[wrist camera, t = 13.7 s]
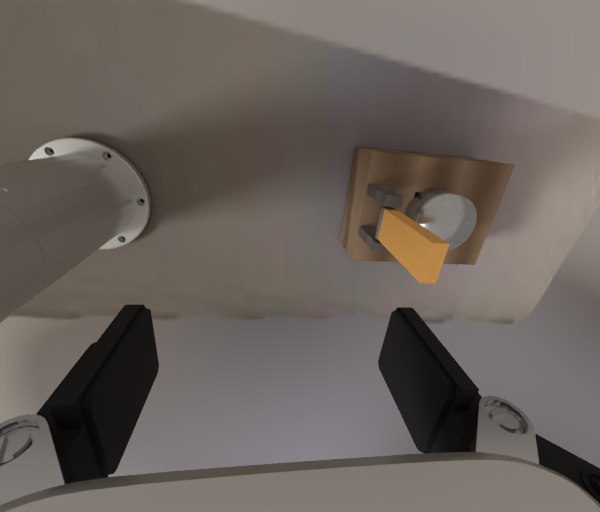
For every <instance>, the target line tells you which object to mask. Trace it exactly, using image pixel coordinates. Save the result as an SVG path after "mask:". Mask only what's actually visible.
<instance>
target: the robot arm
mask: <svg viewBox="0 0 600 512" xmlns="http://www.w3.org/2000/svg"><path fill="white" fill-rule="evenodd" d="M53 151H54V152H53ZM109 154H110V155H111V157H109ZM142 199H143V200H144V201H145V202H143V201H142ZM150 213H151V198H150V194H149V191H148V187H147V185H146V183H145V181H144V179H143V177H142V176H141V174H140V173H139V172H138V170H137V169H136V167H135V166H134V165H133V164H132V163H131V162H130V161H129V160H128V159H127V158H126V157H124V156H123V155H122V154H120V153H119V152H118V151H116V150H114V149H113V148H111V147H109V146H107V145H105V144H102V143H100V142H97V141H94V140H90V139H84V138H62V139H56V140H53V141H50V142H47V143H45V144H43V145H42V146H40V147H38V148H37V149H36V150H35V151H34V152H33V153H32V154H31V156H30V157H29V159H28V160H27V161H21V162H14V163H8V164H1V165H0V323H1V322H2V321H3V320H5V319H6V318H7V317H8V316H10V315H11V314H12V313H14V312H15V311H16V310H18V309H19V308H20V307H22V306H23V305H24V304H26V303H27V302H28V301H30V300H31V299H33V298H34V297H35V296H37V295H38V294H39V293H41V292H42V291H43V290H45V289H46V288H47V287H49V286H50V285H51V284H53V283H54V282H55V281H57V280H58V279H59V278H61V277H62V276H63V275H65V274H66V273H67V272H69V271H70V270H71V269H73V268H74V267H75V266H77V265H78V264H79V263H81V262H82V261H83V260H85V259H86V258H87V257H89V256H90V255H91V254H93V253H94V252H95V251H97V250H98V249H99V250H103V249H114V248H118V247H121V246H124V245H126V244H128V243H130V242H131V241H133V240H134V239H135V238H137V237H138V236H139V235H140V234H141V233H142V232H143V230H144V229H145V227H146V226H147V224H148V221H149V218H150ZM123 236H124V237H125V238H124V237H123ZM378 364H379V369H380V371H381V373H382V375H383V377H384V380H385V381H386V384H387V386H388V388H389V390H390V392H391V394H392V396H393V398H394V401H395V403H396V405H397V407H398V409H399V411H400V413H401V415H402V418H403V420H404V422H405V424H406V426H407V428H408V430H409V432H410V434H411V437H412V439H413V441H414V443H415V445H416V447H417V449H418V450H419V451H420V452H423V454H407V455H392V456H377V457H361V458H346V459H333V460H318V461H304V462H290V463H276V464H263V465H249V466H235V467H223V468H209V469H197V470H184V471H171V472H159V473H149V474H139V475H128V476H118V477H108V475H109V474H113V473H114V472H115V471H116V469H117V467H118V465H119V463H120V460H121V458H122V456H123V453H124V451H125V449H126V446H127V444H128V441H129V439H130V437H131V435H132V432H133V430H134V427H135V425H136V423H137V420H138V418H139V416H140V413H141V411H142V408H143V406H144V404H145V401H146V399H147V397H148V394H149V392H150V390H151V387H152V385H153V382H154V380H155V378H156V376H157V373H158V367H159V363H158V356H157V350H156V343H155V337H154V330H153V323H152V317H151V311H150V309H146V308H145V306H144V305H125V306H124V307H123V308H122V309H121V311H120V312H119V313H118V315H117V316H116V317H115V319H114V320H113V321H112V323H111V324H110V325H109V327H108V328H107V329H106V330H105V332H104V333H103V334H102V336H101V337H100V338H99V340H98V341H97V342H95V343H93V344H91V345H90V346H89V348H88V349H87V350H86V351H85V353H84V354H83V355H82V356H81V358H80V359H79V360H78V362H77V363H76V364H75V365H74V367H73V368H72V369H71V370H70V372H69V373H68V374H67V376H66V377H65V378H64V379H63V381H62V382H61V383H60V384H59V386H58V387H57V388H56V390H55V391H54V392H53V394H52V395H51V396H50V397H49V399H48V400H47V401H46V402H45V404H44V405H43V406H42V408H41V409H40V410H39V411H38V413H37V414H36V415H29V414H28V415H23V416H18V417H15V418H12V419H9V420H7V421H4V422H2V423H1V424H0V512H600V468H598V467H596V466H594V465H592V464H590V463H588V462H587V461H585V460H583V459H581V458H579V457H577V456H576V455H574V454H572V453H570V452H568V451H566V450H565V449H562V448H561V447H559V446H557V445H555V444H553V443H551V442H550V441H548V440H546V439H544V438H542V437H540V436H539V435H537V434H535V430H534V427H533V424H532V422H531V421H530V420H529V418H528V416H527V415H525V413H523V411H521V410H520V409H519V408H518V407H516V406H515V405H514V404H512V403H510V402H508V401H507V400H505V399H502V398H499V397H496V396H485V397H483V398H482V397H481V396H480V395H479V393H478V391H479V389H478V388H477V387H476V385H475V384H474V383H473V382H472V380H471V379H470V378H469V377H468V376H467V374H466V373H465V372H464V371H463V369H462V368H461V367H460V366H459V364H458V363H457V362H456V361H455V359H454V358H453V357H452V356H451V355H450V353H449V352H448V351H447V350H446V348H445V347H444V346H443V345H442V343H441V342H440V341H439V340H438V339H437V337H436V336H435V335H434V334H433V333H432V331H431V330H430V329H429V327H428V326H427V325H426V324H425V322H424V321H423V320H422V319H421V318H420V316H419V315H418V314H417V313H416V311H415V310H414V309H413V308H397V309H396V310H395V311H393V312H392V314H391V317H390V321H389V324H388V328H387V332H386V335H385V339H384V342H383V346H382V349H381V353H380V357H379V361H378Z"/></svg>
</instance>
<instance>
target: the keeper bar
mask: <svg viewBox="0 0 600 512" xmlns="http://www.w3.org/2000/svg"><path fill="white" fill-rule="evenodd" d="M375 238H376V239H378V240H379V241H380V242H381V243H382V244H383V245H384V246H385V247H386V248H387V250H388V251H389V252H390V253H391V254H392V255H393V256H394V257H395V258H396V259H397V260H398V261H399V262H400V263H401V264H402V265H403V266H404V267H405V268H406V269H407V270H408V271H409V272H410V273H411V274H412V275H413V276H414V277H415V278H416V279H417V280H418V281H419V282H420V283H436V282H437V279H438V276H439V273H440V270H441V267H442V264H443V262H444V259H445V256H446V253H447V250H448V247H449V243H447V242H446V241H444V240H443V239H441V238H440V237H438V236H437V235H435V234H433V233H432V232H430V231H429V230H427V229H426V228H424V227H423V226H421V225H420V224H418V223H417V222H415V221H414V220H412V219H410V218H409V217H407V216H406V215H404V214H403V213H401V212H400V211H398V210H397V209H396V208H393V207H388V206H382V208H381V212H380V217H379V221H378V226H377V230H376V235H375Z"/></svg>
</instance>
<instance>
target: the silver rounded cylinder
mask: <svg viewBox="0 0 600 512" xmlns="http://www.w3.org/2000/svg"><path fill="white" fill-rule="evenodd" d="M404 215H406V216H407V217H409V218H410V219H412V220H414V221H415V222H417V223H418V224H420V225H421V226H423V227H424V228H426V229H427V230H429V231H430V232H432V233H433V234H435V235H437V236H438V237H440V238H441V239H443V240H444V241H446V242H447V243H449V247H448V250H447V251H450V250H453V249H455V248H457V247H458V246H460V245H461V244H463V243H464V242H465V241H466V240H467V239H468V238H469V236H470V235H471V233H472V232H473V230H474V228H475V225H476V220H477V212H476V208H475V206H474V204H473V203H472V202H471V201H470V200H469V199H468V198H466V197H463V196H460V195H458V194H455V193H452V192H450V191H447V190H444V189H441V188H429V189H426V190H424V191H422V192H415V195H414V198H413V199H412V200H411V201H410V202H409V204H408V205H407V207H406V209H405V213H404Z"/></svg>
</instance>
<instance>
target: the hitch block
mask: <svg viewBox="0 0 600 512" xmlns="http://www.w3.org/2000/svg"><path fill="white" fill-rule="evenodd" d="M513 167H514V165H510V164H504V163H498V162H492V161H486V160H480V159H472V158H462V157H452V156H442V155H431V154H421V153H411V152H401V151H390V150H380V149H370V148H360V147H355V151H354V157H353V163H352V169H351V175H350V181H349V187H348V193H347V199H346V205H345V211H344V217H343V224H342V230H341V236H340V242H341V244H342V245H343V247H344V248H345V250H346V252H347V253H348V255H349V256H350V258H351V259H352V260H365V261H392V262H399V261H398V260H397V259H396V258H395V257H394V256H393V255H392V254H391V253H390V252H389V251H388V250H387V248H386V247H385V246H384V245H383V244H382V243H381V242H380V241H379V240H378V239H376V238H375V235H376V230H377V226H378V221H379V217H380V212H381V208H382V206H388V207H393V208H396V209H397V210H398V211H400V212H401V213H403V214H404V213H405V209H406V207H407V205H408V204H409V202H410V201H411V200H412V199H413V198H414V195H415V192H422V191H424V190H426V189H429V188H441V189H444V190H447V191H450V192H452V193H455V194H458V195H460V196H463V197H466V198H468V199H469V200H470V201H471V202H472V203H473V204H474V206H475V208H476V212H477V220H476V225H475V228H474V230H473V232H472V233H471V235H470V236H469V238H468V239H467V240H466V241H465V242H464V243H463V244H461V245H460V246H458V247H457V248H455V249H453V250H450V251H447V253H446V256H445V259H444V262H443V263H444V264H470V265H475V263H476V260H477V258H478V255H479V253H480V250H481V248H482V245H483V243H484V240H485V238H486V235H487V233H488V230H489V228H490V225H491V223H492V220H493V218H494V215H495V212H496V210H497V207H498V205H499V202H500V200H501V197H502V195H503V192H504V190H505V187H506V185H507V182H508V180H509V177H510V175H511V172H512V170H513Z"/></svg>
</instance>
